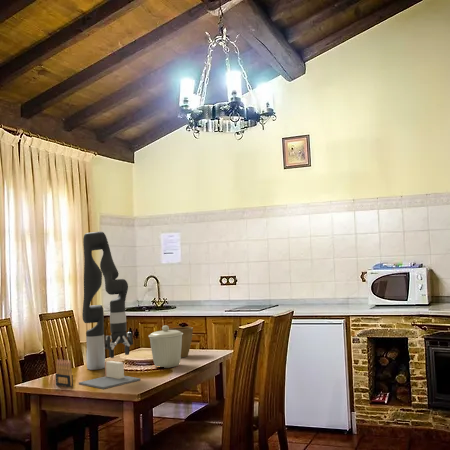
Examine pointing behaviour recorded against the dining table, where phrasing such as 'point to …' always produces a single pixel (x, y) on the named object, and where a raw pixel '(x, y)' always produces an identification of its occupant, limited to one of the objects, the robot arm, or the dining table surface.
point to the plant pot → (185, 339)
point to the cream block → (114, 369)
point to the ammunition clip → (64, 373)
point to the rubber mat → (108, 382)
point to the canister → (166, 347)
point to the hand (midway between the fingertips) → (119, 356)
